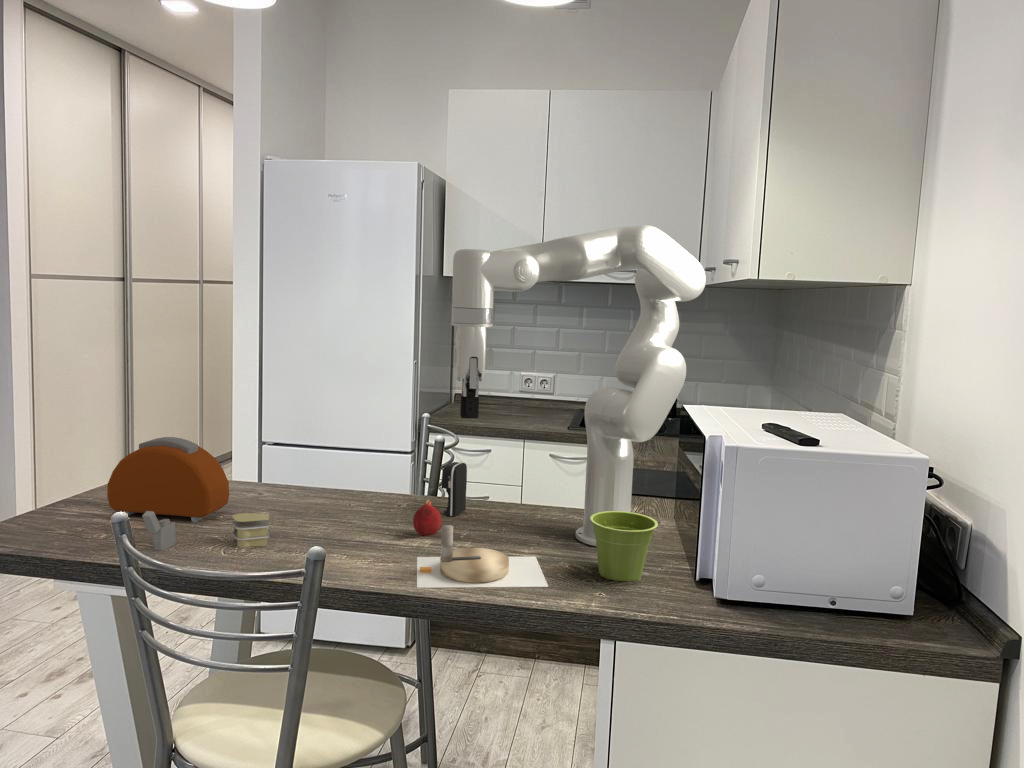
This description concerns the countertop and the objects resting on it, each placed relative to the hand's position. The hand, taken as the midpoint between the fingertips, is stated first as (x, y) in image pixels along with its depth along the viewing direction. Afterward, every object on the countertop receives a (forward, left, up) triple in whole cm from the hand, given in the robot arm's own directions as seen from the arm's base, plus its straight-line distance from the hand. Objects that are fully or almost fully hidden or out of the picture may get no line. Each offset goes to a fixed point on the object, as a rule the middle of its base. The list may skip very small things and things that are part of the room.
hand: (469, 417), depth 148 cm
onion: (+7, -12, -27) cm, 31 cm away
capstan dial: (-1, +11, -25) cm, 27 cm away
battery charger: (+1, -31, -27) cm, 41 cm away
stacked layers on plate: (+41, -10, -28) cm, 51 cm away
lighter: (+57, -6, -27) cm, 64 cm away
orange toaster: (+62, -29, -27) cm, 74 cm away
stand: (-2, +11, -27) cm, 29 cm away
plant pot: (-27, +12, -27) cm, 40 cm away
